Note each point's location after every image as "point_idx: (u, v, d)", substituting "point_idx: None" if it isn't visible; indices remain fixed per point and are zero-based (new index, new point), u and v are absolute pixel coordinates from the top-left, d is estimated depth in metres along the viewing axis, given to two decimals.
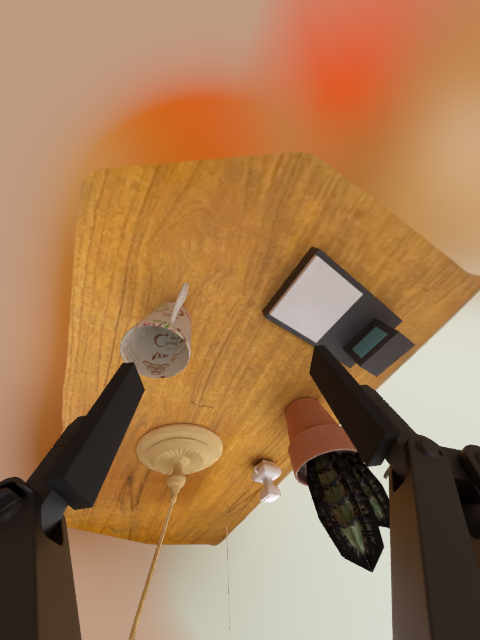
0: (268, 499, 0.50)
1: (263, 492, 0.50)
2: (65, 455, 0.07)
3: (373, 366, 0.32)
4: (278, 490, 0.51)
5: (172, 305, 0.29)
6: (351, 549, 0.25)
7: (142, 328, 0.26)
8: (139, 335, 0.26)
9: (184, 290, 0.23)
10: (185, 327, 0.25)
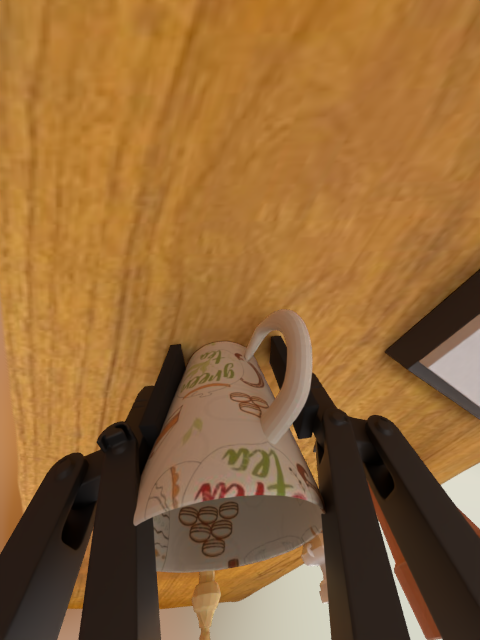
0: None
1: (325, 590, 0.35)
2: (150, 410, 0.09)
3: None
4: None
5: (231, 353, 0.13)
6: None
7: None
8: None
9: (310, 342, 0.07)
10: (289, 429, 0.09)
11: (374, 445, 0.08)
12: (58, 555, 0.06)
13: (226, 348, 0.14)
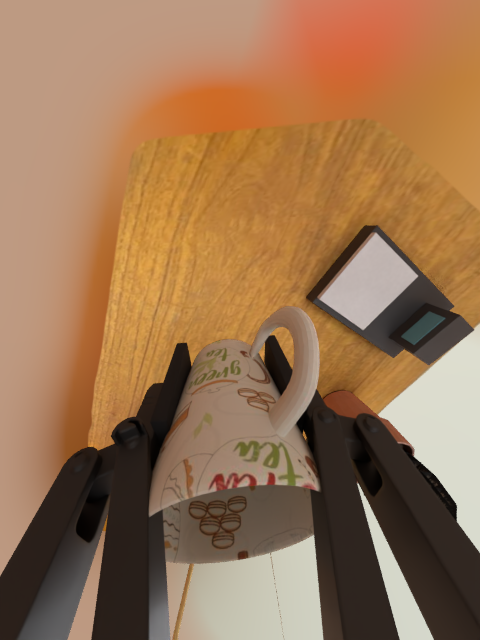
0: None
1: None
2: (160, 406, 0.09)
3: (427, 354, 0.30)
4: None
5: (237, 350, 0.13)
6: None
7: None
8: None
9: (316, 337, 0.08)
10: (295, 423, 0.10)
11: (362, 442, 0.08)
12: (73, 547, 0.06)
13: (231, 346, 0.14)
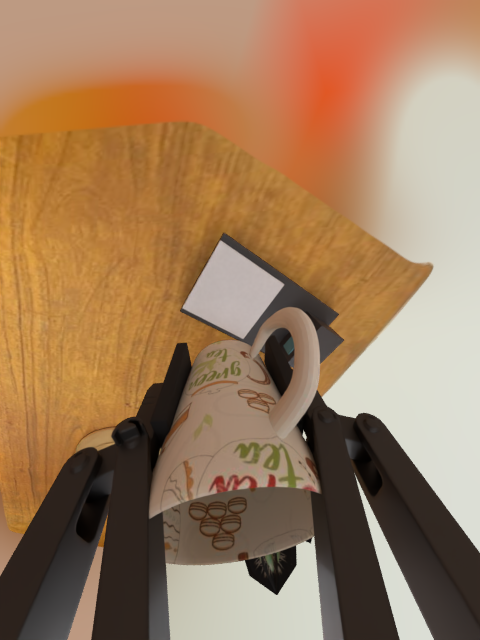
0: None
1: None
2: (160, 406, 0.09)
3: None
4: None
5: (237, 351, 0.13)
6: (258, 568, 0.23)
7: None
8: None
9: (317, 338, 0.08)
10: (296, 425, 0.10)
11: (362, 442, 0.08)
12: (73, 547, 0.06)
13: (232, 346, 0.14)
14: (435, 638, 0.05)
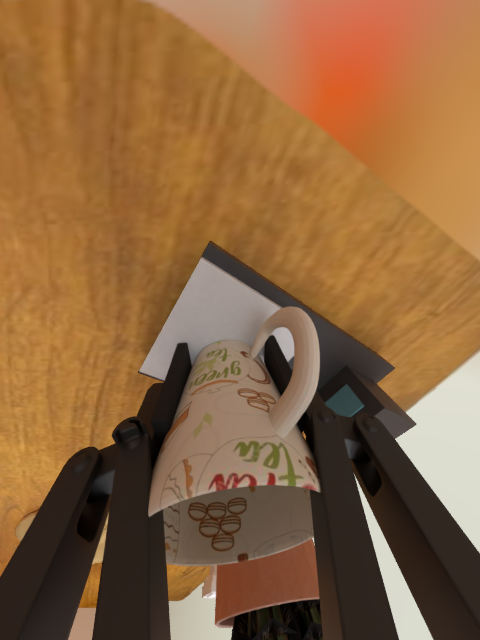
0: (212, 596, 0.36)
1: (206, 585, 0.36)
2: (161, 406, 0.09)
3: None
4: None
5: (237, 351, 0.13)
6: None
7: None
8: None
9: (317, 337, 0.08)
10: (296, 424, 0.10)
11: (361, 442, 0.08)
12: (73, 546, 0.06)
13: (232, 346, 0.14)
14: (434, 638, 0.05)
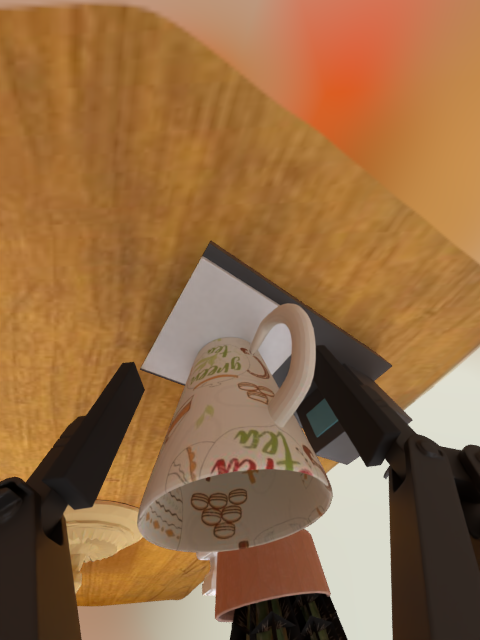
0: (212, 593, 0.36)
1: (206, 582, 0.37)
2: (65, 455, 0.07)
3: (338, 453, 0.18)
4: None
5: (237, 348, 0.14)
6: None
7: None
8: None
9: (313, 332, 0.08)
10: (294, 416, 0.10)
11: None
12: None
13: (232, 343, 0.14)
14: None
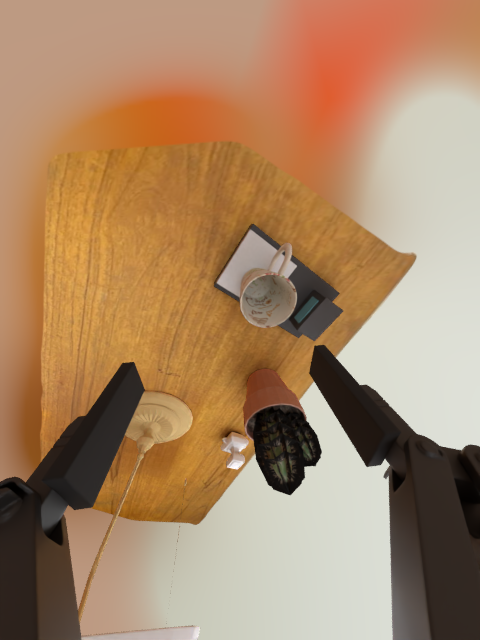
0: (233, 465, 0.54)
1: (229, 459, 0.55)
2: (65, 455, 0.07)
3: (309, 331, 0.36)
4: (243, 457, 0.55)
5: None
6: (275, 478, 0.30)
7: None
8: None
9: (291, 247, 0.27)
10: None
11: None
12: None
13: (260, 268, 0.33)
14: None
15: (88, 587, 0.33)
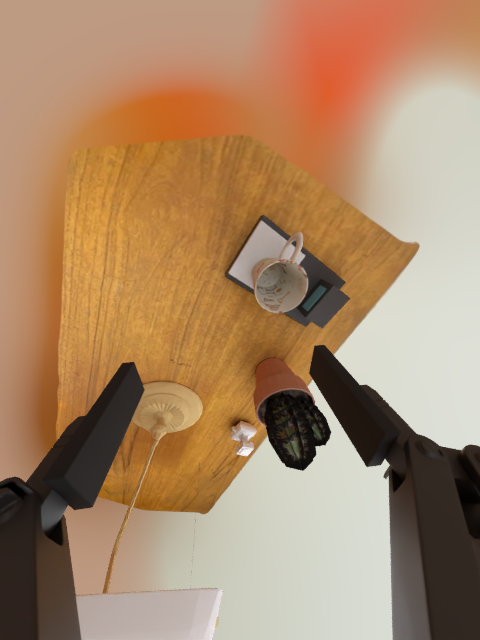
0: (243, 452, 0.56)
1: (238, 446, 0.57)
2: (65, 455, 0.07)
3: (317, 318, 0.38)
4: (252, 444, 0.57)
5: None
6: (289, 455, 0.31)
7: None
8: None
9: (302, 235, 0.28)
10: None
11: None
12: None
13: None
14: None
15: (112, 562, 0.35)
